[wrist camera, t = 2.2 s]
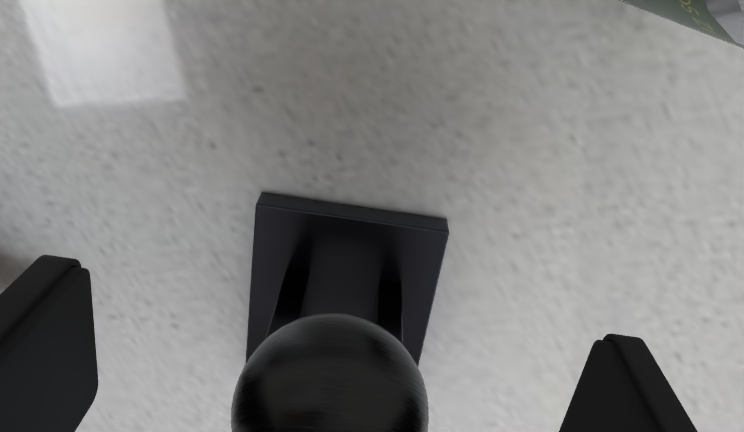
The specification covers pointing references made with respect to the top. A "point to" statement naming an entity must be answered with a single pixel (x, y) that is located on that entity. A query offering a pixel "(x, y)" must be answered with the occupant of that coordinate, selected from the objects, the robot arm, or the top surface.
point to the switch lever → (330, 380)
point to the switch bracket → (343, 267)
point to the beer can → (702, 16)
